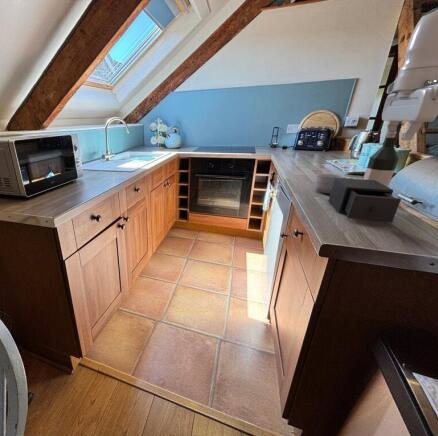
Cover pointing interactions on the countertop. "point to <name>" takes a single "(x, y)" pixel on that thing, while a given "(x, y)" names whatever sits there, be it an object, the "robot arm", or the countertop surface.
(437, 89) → the robot arm
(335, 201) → the dark grey drawer box
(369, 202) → the drawer
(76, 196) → the countertop surface
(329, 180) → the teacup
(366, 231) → the countertop surface
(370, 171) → the wine bottle
